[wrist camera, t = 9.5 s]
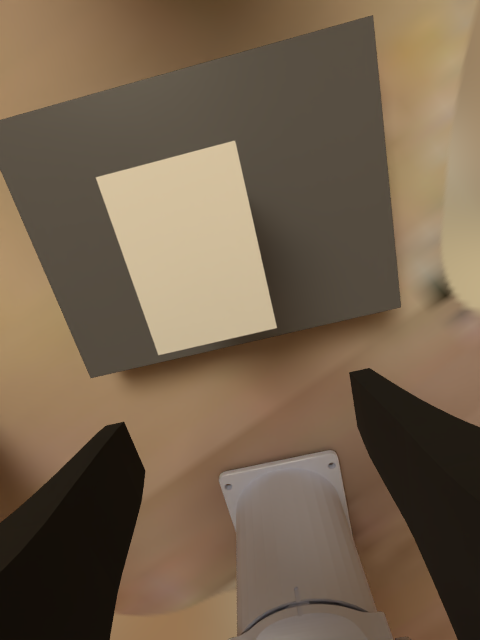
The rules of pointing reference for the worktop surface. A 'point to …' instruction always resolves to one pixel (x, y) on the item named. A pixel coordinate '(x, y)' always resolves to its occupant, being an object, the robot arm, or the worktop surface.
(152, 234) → the plug
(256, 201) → the socket block
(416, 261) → the worktop surface
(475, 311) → the worktop surface
